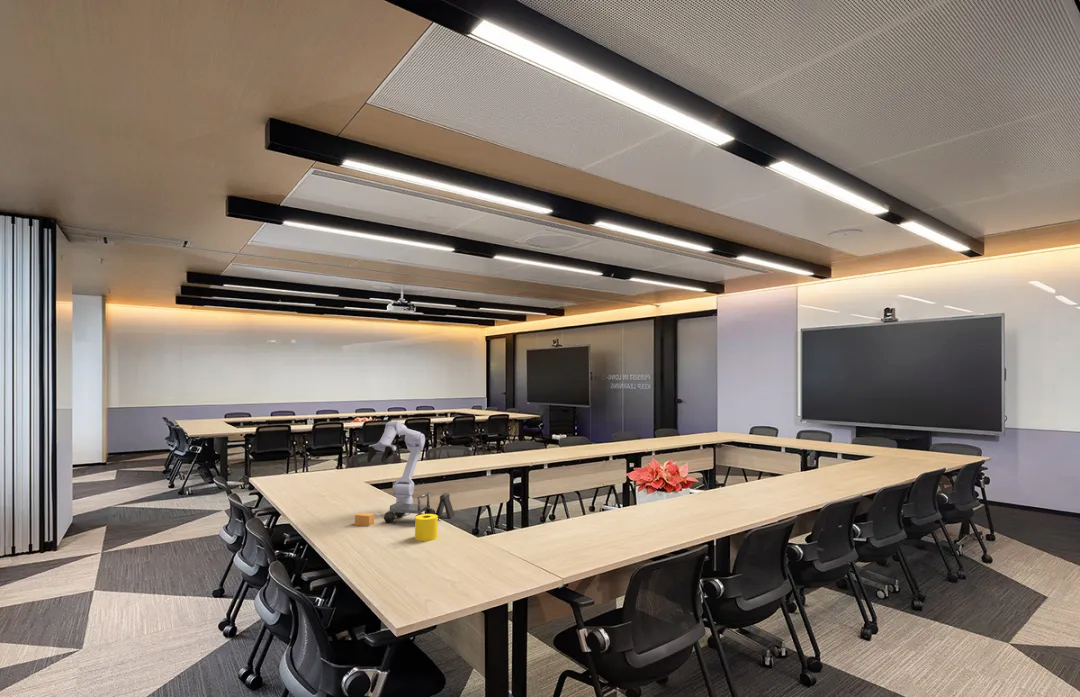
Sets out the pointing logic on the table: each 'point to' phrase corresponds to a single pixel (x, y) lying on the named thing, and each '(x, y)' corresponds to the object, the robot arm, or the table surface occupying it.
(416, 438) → the robot arm
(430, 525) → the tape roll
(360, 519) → the orange rectangular block
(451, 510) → the grey a-frame stand
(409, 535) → the table surface
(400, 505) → the trolley
